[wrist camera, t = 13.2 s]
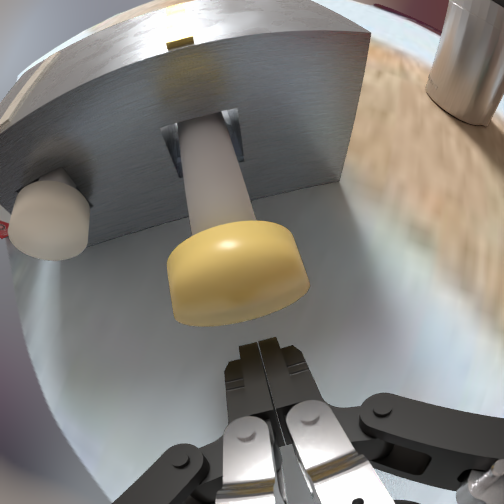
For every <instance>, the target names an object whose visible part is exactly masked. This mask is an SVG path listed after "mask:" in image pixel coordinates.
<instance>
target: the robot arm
mask: <svg viewBox="0 0 504 504" xmlns="http://www.w3.org/2000/svg"><path fill="white" fill-rule="evenodd" d="M426 91H427V93H428V95H429V96H430V97H431V98H432V99H433V100H434V101H435V102H436V103H437V104H438V105H439V106H440V107H441V108H443V109H444V110H446V111H447V112H448V113H450V114H451V115H453V116H455V117H456V118H458V119H460V120H462V121H464V122H466V123H469V124H472V125H484V126H486V127H487V126H488V124H489V122H490V121H491V119H492V117H493V115H494V113H495V111H496V109H497V107H498V105H499V103H500V101H501V99H502V97H503V95H504V0H449V5H448V9H447V14H446V18H445V22H444V27H443V30H442V34H441V38H440V42H439V45H438V49H437V52H436V56H435V59H434V62H433V66H432V69H431V72H430V74H429V77H428V81H427V84H426ZM258 342H259V346H260V350H261V354H262V358H263V362H264V365H263V362H262V358H261V355H260V351H259V348H258V345H257V342H255V343H251V344H247V345H243V346H239V352H240V359H239V360H234V361H230V362H229V363H228V365H227V367H226V369H225V371H224V374H225V386H226V399H227V410H228V426H227V427H226V429H225V431H224V434H223V436H222V437H220V438H219V439H218V440H216V441H215V442H213V443H210V444H208V445H206V446H203V447H201V448H199V449H198V448H197V447H196V446H194V445H191V444H177V445H174V446H172V447H170V448H169V449H168V450H167V451H165V452H164V454H163V455H162V456H161V457H160V458H159V459H158V460H157V461H156V462H155V463H154V464H153V465H152V466H151V467H150V468H149V469H148V470H147V471H146V472H145V473H144V474H143V475H142V476H141V477H140V478H139V479H138V480H137V481H136V482H135V483H133V484H132V485H131V486H130V487H129V488H128V489H127V490H126V491H125V492H124V493H123V494H122V495H121V496H120V497H119V498H118V499H116V500H115V501H114V502H113V503H112V504H288V498H287V492H286V485H285V479H284V472H283V465H282V457H281V453H280V449H279V447H281V446H285V444H284V440H283V437H282V433H281V429H280V425H281V428H282V431H283V434H284V438H285V441H286V444H287V445H288V444H292V445H293V448H294V451H295V455H296V458H297V462H298V464H299V467H300V469H301V472H302V474H303V476H304V479H305V481H306V484H307V486H308V488H309V491H310V493H311V495H312V498H313V500H314V503H315V504H419V503H416V502H412V501H406V500H393V499H392V498H391V496H390V494H389V493H388V491H387V490H386V488H385V486H384V485H383V483H382V482H381V480H380V478H379V477H378V475H377V474H376V472H375V470H374V469H373V468H375V469H378V470H381V471H384V472H387V473H390V474H393V475H396V476H399V477H402V478H405V479H408V480H412V481H415V482H419V483H422V484H426V485H430V486H434V487H438V488H442V489H447V490H452V491H456V501H457V503H458V504H504V418H497V417H491V416H485V415H479V414H474V413H469V412H464V411H459V410H454V409H449V408H445V407H441V406H436V405H432V404H428V403H424V402H420V401H416V400H412V399H409V398H405V397H401V396H398V395H394V394H390V393H379V394H375V395H372V396H370V397H369V398H367V399H366V400H365V401H364V402H363V404H362V405H361V406H358V407H349V408H338V407H334V406H331V405H329V404H328V403H326V402H325V401H324V400H323V398H322V397H321V394H320V392H319V390H318V388H317V385H316V383H315V381H314V379H313V377H312V374H311V372H310V370H309V368H308V365H307V363H306V361H305V359H304V357H303V354H302V352H301V351H300V350H298V349H297V348H296V347H294V346H293V345H291V346H288V347H284V348H281V349H280V346H279V343H278V341H277V338H276V337H273V338H269V339H266V340H262V341H258ZM264 366H265V369H264ZM265 370H266V372H265ZM266 374H267V376H266ZM267 378H268V380H267ZM268 382H269V383H268ZM269 385H270V387H269ZM270 389H271V391H270ZM271 393H272V395H271ZM272 397H273V399H272ZM273 401H274V403H273ZM274 404H275V406H274ZM275 408H276V410H275ZM276 412H277V414H276ZM277 415H278V418H279V421H280V425H279V422H278V418H277Z"/></svg>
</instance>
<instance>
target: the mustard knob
mask: <svg viewBox="0 0 504 504" xmlns="http://www.w3.org/2000/svg"><path fill="white" fill-rule="evenodd" d="M177 127H178V136H179V145H180V154H181V162H182V170H183V178H184V185H185V192H186V199H187V206H188V213H189V220H190V226H191V232H192V236H191V237H190V238H188V239H186V240H185V241H183V242H182V243H181V244H179V245H178V246H177V247H176V248H175V249H174V250H173V251H172V253H171V254H170V256H169V258H168V260H167V273H168V280H169V287H170V294H171V301H172V308H173V314H174V318H175V320H176V321H178V322H179V323H182V324H185V325H189V326H198V327H210V326H222V325H229V324H235V323H240V322H244V321H249V320H252V319H256V318H259V317H262V316H265V315H268V314H271V313H273V312H276V311H278V310H281V309H283V308H285V307H287V306H289V305H291V304H292V303H294V302H296V301H297V300H299V299H300V298H301V297H303V296H304V295H305V294H306V293H307V291H308V290H309V288H310V282H309V279H308V276H307V273H306V271H305V268H304V265H303V262H302V259H301V256H300V254H299V251H298V248H297V245H296V243H295V240H294V237H293V235H292V233H291V232H290V231H289V230H288V229H287V228H285V227H284V226H282V225H279V224H277V223H272V222H267V221H257V220H256V217H255V214H254V211H253V208H252V204H251V201H250V198H249V195H248V192H247V189H246V185H245V182H244V179H243V176H242V173H241V170H240V167H239V163H238V160H237V157H236V154H235V151H234V148H233V145H232V142H231V139H230V136H229V132H228V129H227V126H226V123H225V120H224V117H223V114H222V111H221V112H217V113H213V114H209V115H205V116H201V117H197V118H193V119H189V120H186V121H182V122H178V123H177Z"/></svg>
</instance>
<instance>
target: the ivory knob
mask: <svg viewBox="0 0 504 504" xmlns="http://www.w3.org/2000/svg"><path fill="white" fill-rule="evenodd" d="M89 219H90V206H89V203H88V201H87V200H86V198H85V197H84V196H83V195H82V194H81V193H80V192H79V191H78V190H76V184H75V183H74V182H73V181H72V179H71V178H70V177H69V175H68V174H67V173H66V172H65V170H64V169H63V168H62V167H60V168H58V169H56V170H54V171H52V172H50V173H48V174H46V175H44V176H42V177H40V178H39V181H38V182H34V183H31V184H29V185H27V186H25V187H24V188H23V189H22V190H21V191H20V192H19V193H18V195H17V197H16V200H15V204H14V207H13V211H12V215H11V218H10V222H9V227H8V236H9V239H10V240H11V242H12V244H13V245H14V246H15V247H16V248H17V249H18V250H20V251H21V252H23V253H24V254H26V255H28V256H31V257H33V258H37V259H41V260H47V261H60V260H67V259H70V258H73V257H75V256H77V255H79V254H80V253H82V252H83V251H84V250H85V248H86V246H87V243H88V232H89Z"/></svg>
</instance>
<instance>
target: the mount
mask: <svg viewBox="0 0 504 504" xmlns="http://www.w3.org/2000/svg"><path fill="white" fill-rule="evenodd" d="M370 37H371V32H369V31H367V30H366V29H364V28H363V27H361V26H359V25H357V24H356V23H354V22H352V21H351V20H349V19H347V18H345V17H343V16H341V15H340V14H338V13H336V12H334V11H332V10H330V9H328V8H326V7H324V6H322V5H320V4H318V3H315V2H313V1H311V0H196V1H192V2H187V3H181V4H177V5H173V6H169V7H167V8H163V9H160V10H156V11H153V12H150V13H147V14H143V15H140V16H137V17H135V18H132V19H129V20H126V21H124V22H121V23H118V24H116V25H113V26H111V27H108V28H106V29H104V30H101V31H99V32H97V33H94V34H92V35H90V36H88V37H86V38H84V39H82V40H80V41H78V42H76V43H74V44H72V45H70V46H68V47H66V48H64V49H62V50H61V51H58V52H56V53H55V54H53V55H51V56H49V57H48V58H47V59H45V60H43V61H42V62H40V63H39V64H37V65H35V66H34V67H32V68H31V69H29V70H28V71H26V72H25V73H24V74H23V75H22V76H21V77H20V79H19V80H18V81H17V82H16V83H15V85H14V86H13V87H12V88H11V90H10V91H9V92H8V94H7V95H6V97H5V98H4V99H3V100H2V102H1V103H0V205H1V206H2V207H3V208H4V209H5V210H6V211H8V212H9V213H10V214H11V215H12V211H13V207H14V204H15V200H16V197H17V195H18V193H19V192H20V191H21V190H22V189H23V188H24V187H25V186H27V185H29V184H31V183H34V182H38V181H39V178H40V177H42V176H44V175H46V174H48V173H50V172H52V171H54V170H56V169H58V168H60V167H62V168H63V169H64V170H65V172H66V173H67V174H68V175H69V177H70V178H71V179H72V181H73V182H74V183H75V184H76V190H78V191H79V192H80V193H81V194H82V195H83V196H84V197H85V198H86V200H87V201H88V203H89V206H90V219H89V232H88V243H87V246H86V247H88V246H91V245H95V244H98V243H101V242H104V241H107V240H110V239H113V238H116V237H120V236H123V235H126V234H129V233H133V232H136V231H139V230H142V229H146V228H149V227H153V226H156V225H159V224H163V223H166V222H170V221H173V220H177V219H181V218H184V217H188V216H189V213H188V206H187V199H186V192H185V185H184V178H183V170H182V162H181V154H180V145H179V136H178V127H177V123H178V122H182V121H186V120H189V119H193V118H197V117H201V116H205V115H209V114H213V113H217V112H221V111H222V114H223V117H224V120H225V123H226V126H227V129H228V132H229V136H230V139H231V142H232V145H233V148H234V151H235V154H236V157H237V160H238V163H239V167H240V170H241V173H242V176H243V179H244V182H245V185H246V189H247V192H248V195H249V198H250V200H254V199H258V198H262V197H267V196H271V195H275V194H280V193H284V192H289V191H293V190H298V189H302V188H307V187H312V186H316V185H321V184H326V183H331V182H336V181H339V180H340V177H341V173H342V169H343V165H344V161H345V157H346V153H347V149H348V145H349V141H350V137H351V133H352V129H353V124H354V120H355V115H356V111H357V106H358V102H359V97H360V92H361V87H362V82H363V77H364V72H365V66H366V61H367V55H368V49H369V43H370Z"/></svg>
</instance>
